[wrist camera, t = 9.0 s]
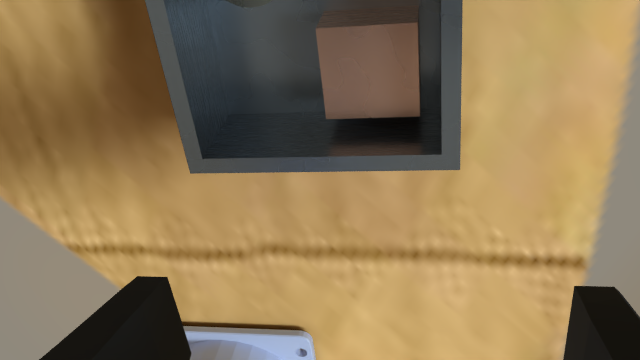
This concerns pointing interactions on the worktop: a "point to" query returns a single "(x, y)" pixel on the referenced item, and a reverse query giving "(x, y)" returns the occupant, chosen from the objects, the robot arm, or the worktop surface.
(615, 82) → the worktop surface
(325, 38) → the tin
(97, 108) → the worktop surface
